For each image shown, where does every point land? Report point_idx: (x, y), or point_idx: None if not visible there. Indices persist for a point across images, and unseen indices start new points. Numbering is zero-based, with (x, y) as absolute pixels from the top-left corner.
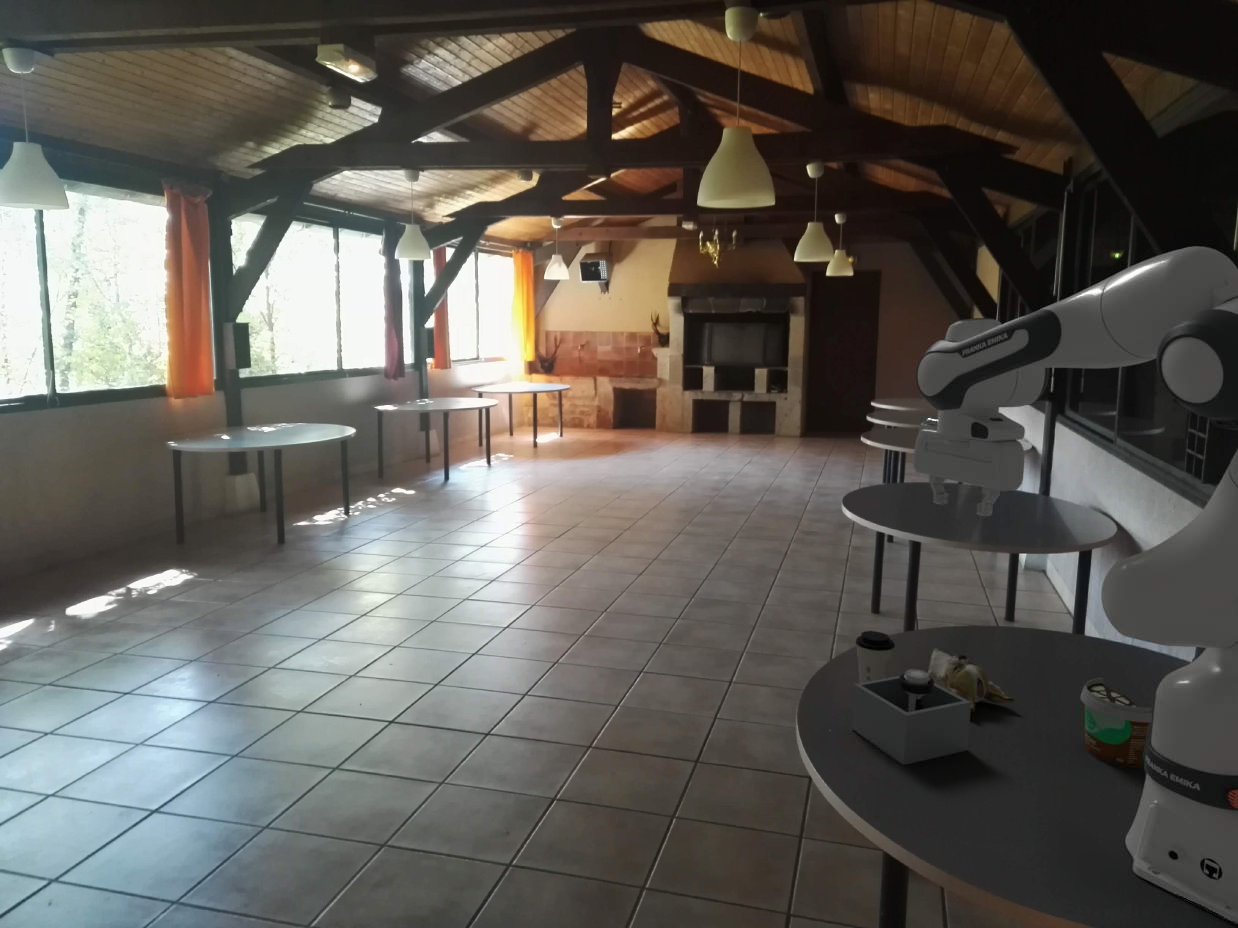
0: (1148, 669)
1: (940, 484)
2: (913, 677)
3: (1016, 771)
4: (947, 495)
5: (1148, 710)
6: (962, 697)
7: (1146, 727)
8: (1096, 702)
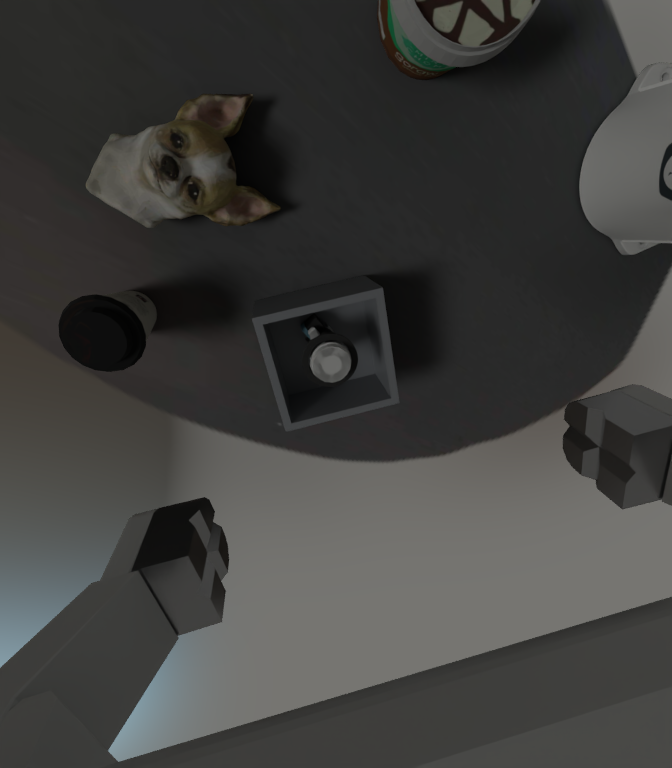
0: None
1: (69, 678)
2: (344, 376)
3: (429, 243)
4: (196, 549)
5: None
6: (235, 203)
7: None
8: (474, 56)
